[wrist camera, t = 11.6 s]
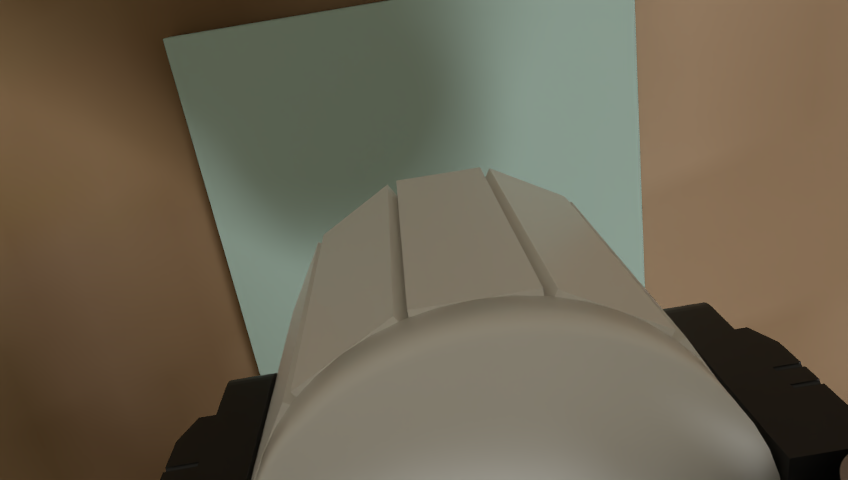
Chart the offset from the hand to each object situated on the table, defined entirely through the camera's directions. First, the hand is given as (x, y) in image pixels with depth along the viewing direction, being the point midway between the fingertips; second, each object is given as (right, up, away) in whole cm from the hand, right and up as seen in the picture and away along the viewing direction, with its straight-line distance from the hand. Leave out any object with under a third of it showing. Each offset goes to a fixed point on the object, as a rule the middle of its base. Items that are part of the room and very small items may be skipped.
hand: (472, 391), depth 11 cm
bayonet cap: (0, +1, +2) cm, 2 cm away
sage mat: (0, +2, +6) cm, 6 cm away
